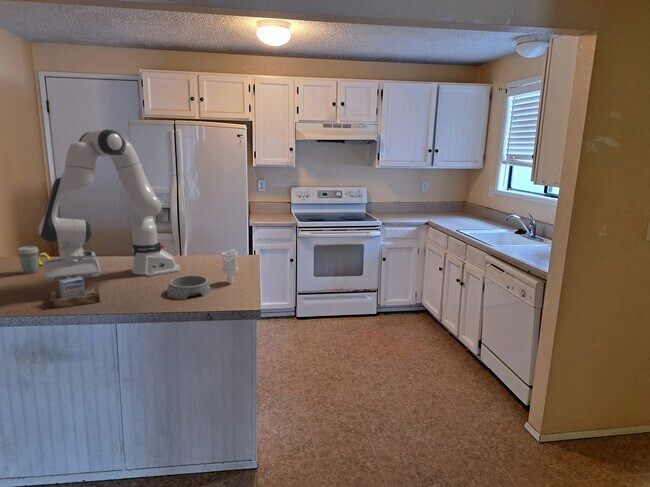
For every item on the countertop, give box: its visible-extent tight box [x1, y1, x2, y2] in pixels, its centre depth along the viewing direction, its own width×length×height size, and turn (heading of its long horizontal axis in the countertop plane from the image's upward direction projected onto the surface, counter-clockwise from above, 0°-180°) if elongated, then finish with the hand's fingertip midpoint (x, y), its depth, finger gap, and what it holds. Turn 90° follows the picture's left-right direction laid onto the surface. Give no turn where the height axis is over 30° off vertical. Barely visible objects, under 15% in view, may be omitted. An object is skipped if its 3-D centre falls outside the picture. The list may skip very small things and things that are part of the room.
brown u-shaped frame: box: [49, 285, 101, 310], centre depth 180 cm, size 17×12×3 cm
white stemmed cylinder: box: [221, 248, 239, 284], centre depth 205 cm, size 7×7×15 cm
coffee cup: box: [17, 245, 40, 275], centre depth 213 cm, size 9×9×12 cm
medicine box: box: [58, 276, 86, 299], centre depth 179 cm, size 8×4×9 cm, turn 139°
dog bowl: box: [166, 274, 212, 300], centre depth 193 cm, size 17×18×5 cm
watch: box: [38, 252, 52, 266], centre depth 226 cm, size 6×3×6 cm, turn 87°
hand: (74, 286), depth 183 cm, fingers closed
